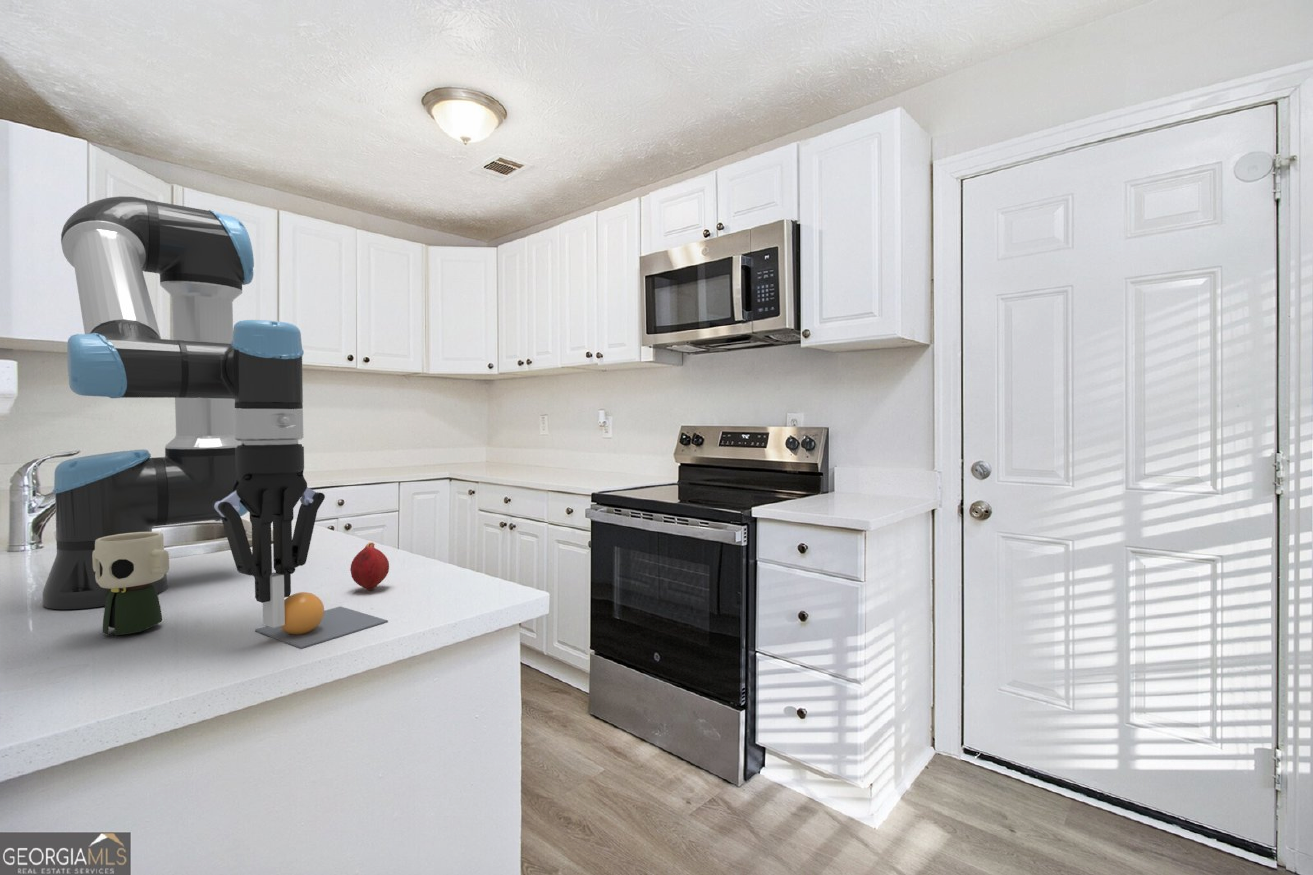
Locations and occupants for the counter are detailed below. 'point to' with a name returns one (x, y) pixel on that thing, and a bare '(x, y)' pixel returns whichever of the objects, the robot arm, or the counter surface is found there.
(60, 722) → the counter surface
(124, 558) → the character mug
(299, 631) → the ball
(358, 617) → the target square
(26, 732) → the counter surface
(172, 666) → the counter surface
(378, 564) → the onion
